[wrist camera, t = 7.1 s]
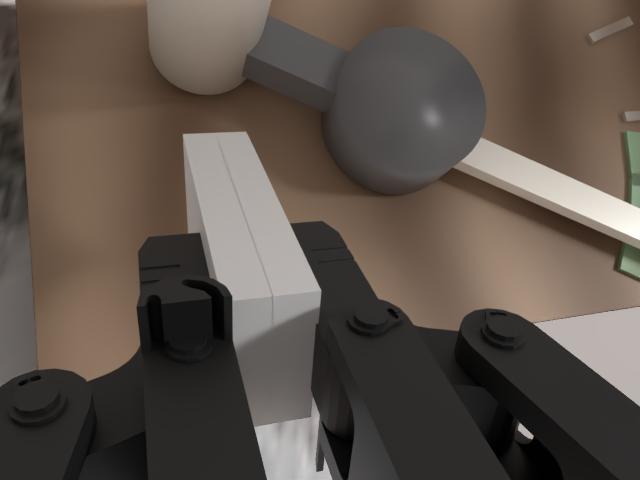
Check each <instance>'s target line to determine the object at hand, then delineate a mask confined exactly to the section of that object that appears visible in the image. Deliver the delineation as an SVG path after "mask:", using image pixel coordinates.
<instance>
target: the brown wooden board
mask: <svg viewBox="0 0 640 480" xmlns="http://www.w3.org/2000/svg"><path fill="white" fill-rule="evenodd" d="M268 15H269V16H272V17H274V18H276V19H278V20H280V21H283V22H285V23H287V24H289V25H291V26H294V27H296V28H298V29H300V30H302V31H305V32H307V33H309V34H311V35H313V36H316V37H318V38H320V39H322V40H324V41H327V42H329V43H331V44H333V45H335V46H338V47H340V48H342V49H344V50H346V51H349V52H351V51H352V49H353V48H354V47H355V46H356V45H357V44H358V43H359V42H360V41H361V40H363V39H364V38H365V37H367V36H369V35H370V34H372V33H375V32H377V31H380V30H383V29H387V28H393V27H410V28H417V29H421V30H424V31H427V32H430V33H432V34H435V35H437V36H439V37H441V38H443V39H444V40H446V41H447V42H449V43H450V44H452V45H453V46H454V47H455V48H456V49H458V50H459V51H460V52H461V53H462V54H463V55H464V56H465V57H466V59H467V60H468V61H469V62H470V64H471V65H472V66H473V68H474V70H475V71H476V73H477V75H478V77H479V79H480V81H481V84H482V87H483V90H484V94H485V99H486V109H487V112H486V122H485V127H484V130H483V133H482V136H481V138H483V139H486V140H488V141H490V142H492V143H495V144H497V145H499V146H501V147H504V148H506V149H508V150H510V151H512V152H515V153H517V154H519V155H521V156H524V157H526V158H528V159H530V160H533V161H535V162H537V163H539V164H542V165H544V166H546V167H548V168H550V169H553V170H555V171H557V172H559V173H562V174H564V175H566V176H568V177H571V178H573V179H575V180H577V181H580V182H582V183H584V184H586V185H588V186H591V187H593V188H595V189H597V190H600V191H602V192H604V193H606V194H609V195H611V196H613V197H615V198H618V199H620V200H622V201H624V202H626V203H629V204H631V205H633V206H635V207H638V208H640V0H271V4H270V8H269V12H268ZM16 17H17V33H18V50H19V66H20V83H21V99H22V116H23V132H24V149H25V165H26V182H27V198H28V215H29V231H30V248H31V265H32V281H33V298H34V314H35V331H36V347H37V364H38V370H44V369H53V368H56V369H62V370H68V371H73V372H75V373H76V374H78V375H80V376H81V377H83V378H85V379H86V381H90V380H92V379H95V378H98V377H100V376H103V375H105V374H107V373H110V372H112V371H114V370H116V369H118V368H119V367H121V366H122V365H124V364H125V363H126V362H128V361H129V360H130V359H131V358H132V357H133V356H134V354H135V353H136V352H137V350H138V348H139V346H140V335H139V327H138V318H137V309H136V306H137V303H138V299H139V296H140V282H139V263H138V251H139V250H140V248H141V247H142V245H143V244H144V242H145V241H146V239H147V238H148V237H152V236H164V235H177V234H188V223H187V205H186V186H185V168H184V149H183V134H197V133H222V132H247V134H248V136H249V138H250V140H251V143H252V145H253V147H254V149H255V151H256V153H257V155H258V157H259V160H260V162H261V164H262V166H263V168H264V170H265V172H266V174H267V177H268V179H269V181H270V183H271V185H272V187H273V189H274V191H275V194H276V196H277V198H278V200H279V202H280V204H281V206H282V208H283V210H284V213H285V215H286V217H287V219H288V221H289V223H301V222H313V221H323V222H325V223H326V224H328V225H329V226H331V227H332V228H333V229H335V230H336V231H338V232H339V233H340V235H341V237H342V238H343V240H344V242H345V243H346V245H347V249H349V250H350V252H351V254H352V255H353V257H354V261H356V262H357V264H358V265H359V267H360V269H361V270H362V272H363V274H364V275H365V277H366V279H367V281H368V282H369V284H370V286H371V287H372V289H373V291H374V292H375V294H376V296H377V297H378V299H381V300H385V301H388V302H390V303H392V304H393V305H395V306H397V307H399V308H400V309H401V310H402V311H403V312H404V313H405V314H406V315H407V316H408V317H409V319H410V320H411V322H412V323H413V325H416V326H420V327H426V328H434V329H444V330H454V331H459V328H460V324H461V322H462V320H463V318H464V316H466V315H467V314H469V313H471V312H472V311H474V310H480V309H486V308H490V309H501V310H505V311H508V312H511V313H514V314H518V315H520V316H521V317H523V318H525V319H526V320H528V321H530V322H531V323H536V322H544V321H550V320H556V319H563V318H569V317H576V316H581V315H588V314H594V313H601V312H608V311H614V310H620V309H627V308H633V307H640V249H639V248H636V247H634V246H632V245H629V244H627V243H625V242H623V241H620V240H618V239H616V238H613V237H611V236H609V235H607V234H604V233H602V232H600V231H597V230H595V229H593V228H590V227H588V226H586V225H584V224H581V223H579V222H577V221H574V220H572V219H570V218H568V217H565V216H563V215H561V214H558V213H556V212H554V211H552V210H549V209H547V208H545V207H542V206H540V205H538V204H535V203H533V202H531V201H529V200H526V199H524V198H522V197H519V196H517V195H515V194H513V193H510V192H508V191H506V190H503V189H501V188H499V187H497V186H494V185H492V184H490V183H487V182H485V181H483V180H480V179H478V178H476V177H474V176H471V175H469V174H467V173H464V172H462V171H460V170H458V169H455V168H451V169H450V170H449V171H447V172H446V173H445V174H444V175H442V176H441V177H440V178H439V179H437V180H436V181H435V182H433V183H432V184H431V185H429V186H428V187H426V188H424V189H422V190H420V191H417V192H414V193H409V194H404V195H390V194H383V193H379V192H375V191H373V190H370V189H367V188H365V187H363V186H361V185H360V184H358V183H357V182H355V181H353V180H352V179H351V178H350V177H348V176H347V175H346V174H345V173H344V172H343V171H342V170H341V169H340V168H339V167H338V165H337V164H336V163H335V161H334V160H333V158H332V157H331V155H330V153H329V151H328V149H327V146H326V144H325V141H324V137H323V134H322V126H321V115H322V111H320V110H318V109H316V108H313V107H311V106H309V105H306V104H304V103H302V102H300V101H297V100H295V99H293V98H290V97H288V96H286V95H284V94H281V93H279V92H277V91H274V90H272V89H270V88H267V87H265V86H263V85H261V84H258V83H256V82H254V81H251V80H249V79H246V80H245V81H244V82H243V83H241V84H240V85H239V86H237V87H236V88H234V89H232V90H230V91H227V92H225V93H221V94H215V95H201V94H195V93H191V92H188V91H185V90H183V89H180V88H178V87H177V86H175V85H173V84H172V83H170V82H169V81H168V80H167V79H166V78H165V77H164V76H163V75H162V74H161V73H160V72H159V70H158V69H157V68H156V66H155V64H154V62H153V60H152V57H151V54H150V50H149V37H148V19H147V1H146V0H16Z"/></svg>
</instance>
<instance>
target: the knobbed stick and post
mask: <svg viewBox="0 0 640 480" xmlns="http://www.w3.org/2000/svg"><path fill="white" fill-rule="evenodd" d="M146 1H147V19H148V37H149V50H150V54H151V57H152V60H153V62H154V64H155V66H156V68H157V69H158V70H159V72H160V73H161V74H162V75H163V76H164V77H165V78H166V79H167V80H168V81H169V82H170V83H172V84H173V85H175V86H177V87H178V88H180V89H183V90H185V91H188V92H191V93H195V94H201V95H215V94H221V93H225V92H227V91H230V90H232V89H234V88H236V87H237V86H239V85H240V84H241V83H243V82H244V81H245V80H246V79H249V80H251V81H254V82H256V83H258V84H261V85H263V86H265V87H267V88H270V89H272V90H274V91H277V92H279V93H281V94H284V95H286V96H288V97H290V98H293V99H295V100H297V101H300V102H302V103H304V104H306V105H309V106H311V107H313V108H316V109H318V110H320V111H322V115H321V126H322V134H323V137H324V141H325V144H326V146H327V149H328V151H329V153H330V155H331V157H332V158H333V160H334V161H335V163H336V164H337V165H338V167H339V168H340V169H341V170H342V171H343V172H344V173H345V174H346V175H347V176H348V177H350V178H351V179H352V180H353V181H355V182H357V183H358V184H360V185H361V186H363V187H365V188H367V189H370V190H373V191H375V192H379V193H383V194H390V195H404V194H409V193H414V192H417V191H420V190H422V189H424V188H426V187H428V186H429V185H431V184H432V183H433V182H435V181H436V180H437V179H439V178H440V177H441V176H442V175H444V174H445V173H446V172H447V171H449V170H450V169H451V168H455V169H458V170H460V171H462V172H464V173H467V174H469V175H471V176H474V177H476V178H478V179H480V180H483V181H485V182H487V183H490V184H492V185H494V186H497V187H499V188H501V189H503V190H506V191H508V192H510V193H513V194H515V195H517V196H519V197H522V198H524V199H526V200H529V201H531V202H533V203H535V204H538V205H540V206H542V207H545V208H547V209H549V210H552V211H554V212H556V213H558V214H561V215H563V216H565V217H568V218H570V219H572V220H574V221H577V222H579V223H581V224H584V225H586V226H588V227H590V228H593V229H595V230H597V231H600V232H602V233H604V234H607V235H609V236H611V237H613V238H616V239H618V240H620V241H623V242H625V243H627V244H629V245H632V246H634V247H636V248H639V249H640V208H638V207H635V206H633V205H631V204H629V203H626V202H624V201H622V200H620V199H618V198H615V197H613V196H611V195H609V194H606V193H604V192H602V191H600V190H597V189H595V188H593V187H591V186H588V185H586V184H584V183H582V182H580V181H577V180H575V179H573V178H571V177H568V176H566V175H564V174H562V173H559V172H557V171H555V170H553V169H550V168H548V167H546V166H544V165H542V164H539V163H537V162H535V161H533V160H530V159H528V158H526V157H524V156H521V155H519V154H517V153H515V152H512V151H510V150H508V149H506V148H504V147H501V146H499V145H497V144H495V143H492V142H490V141H488V140H486V139H483V138H481V136H482V133H483V130H484V127H485V122H486V112H487V109H486V99H485V94H484V90H483V87H482V84H481V81H480V79H479V77H478V75H477V73H476V71H475V70H474V68H473V66H472V65H471V64H470V62H469V61H468V60H467V59H466V57H465V56H464V55H463V54H462V53H461V52H460V51H459V50H458V49H456V48H455V47H454V46H453V45H452V44H450V43H449V42H447V41H446V40H444V39H443V38H441V37H439V36H437V35H435V34H432V33H430V32H427V31H424V30H421V29H417V28H410V27H393V28H387V29H383V30H380V31H377V32H375V33H372V34H370V35H369V36H367V37H365V38H364V39H363V40H361V41H360V42H359V43H358V44H357V45H356V46H355V47H354V48H353V49H352V51H351V52H349V51H346V50H344V49H342V48H340V47H338V46H335V45H333V44H331V43H329V42H327V41H324V40H322V39H320V38H318V37H316V36H313V35H311V34H309V33H307V32H305V31H302V30H300V29H298V28H296V27H294V26H291V25H289V24H287V23H285V22H283V21H280V20H278V19H276V18H274V17H272V16H269V15H268V12H269V8H270V4H271V0H146Z"/></svg>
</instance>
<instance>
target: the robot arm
mask: <svg viewBox="0 0 640 480" xmlns="http://www.w3.org/2000/svg"><path fill="white" fill-rule="evenodd" d="M183 149H184V168H185V186H186V205H187V223H188V234H177V235H164V236H152V237H148V238H147V239H146V241H145V242H144V244H143V245H142V247H141V248H140V250H139V251H138V263H139V282H140V296H139V299H138V303H137V306H136V309H137V318H138V327H139V335H140V346H139V348H138V350H137V352H136V353H135V354H134V356H133V357H132V358H131V359H130V360H129V361H128V362H126V363H125V364H124V365H122V366H121V367H119V368H118V369H116V370H114V371H112V372H110V373H107V374H105V375H103V376H100V377H98V378H95V379H92V380H90V381H86V379H85V378H83V377H81V376H80V375H78V374H76V373H75V372H73V371H68V370H62V369H56V368H53V369H44V370H35V371H32V372H29V373H26V374H23V375H21V376H18V377H15V378H13V379H12V380H10V381H9V382H7V383H6V384H4V385H2V386H1V387H0V480H267V478H266V474H265V470H264V466H263V462H262V458H261V454H260V450H259V445H258V441H257V437H256V433H255V429H254V426H260V425H266V424H272V423H278V422H284V421H290V420H295V419H301V418H307V417H311V409H312V397H314V400H315V402H316V405H317V408H318V411H319V413H320V420H319V430H318V441H317V451H316V470H317V472H318V471H323V465H324V456H325V459H326V462H327V465H328V468H329V471H330V474H331V476H332V479H333V480H640V407H639V406H638V405H637V404H636V403H635V402H633V401H632V400H631V399H629V398H628V397H627V396H626V395H624V394H623V393H622V392H620V391H619V390H618V389H617V388H615V387H614V386H613V385H611V384H610V383H609V382H607V381H606V380H605V379H603V378H602V377H601V376H600V375H598V374H597V373H596V372H594V371H593V370H592V369H591V368H589V367H588V366H587V365H586V364H584V363H583V362H582V361H580V360H579V359H578V358H577V357H575V356H574V355H573V354H571V353H570V352H569V351H567V350H566V349H565V348H564V347H562V346H561V345H560V344H558V343H557V342H556V341H555V340H553V339H552V338H551V337H550V336H548V335H547V334H546V333H544V332H543V331H542V330H541V329H539V328H538V327H537V326H535V325H534V324H533V323H531V322H530V321H528V320H526V319H525V318H523V317H521V316H520V315H518V314H514V313H511V312H508V311H505V310H501V309H490V308H486V309H480V310H474V311H472V312H471V313H469V314H467V315H466V316H464V318H463V320H462V322H461V324H460V328H459V331H454V330H444V329H434V328H426V327H420V326H416V325H413V323H412V322H411V320H410V319H409V317H408V316H407V315H406V314H405V313H404V312H403V311H402V310H401V309H400V308H399V307H397V306H395V305H393V304H392V303H390V302H388V301H385V300H381V299H378V297H377V296H376V294H375V292H374V291H373V289H372V287H371V286H370V284H369V282H368V281H367V279H366V277H365V275H364V274H363V272H362V270H361V269H360V267H359V265H358V264H357V262H356V261H354V257H353V255H352V254H351V252H350V250H349V249H347V245H346V243H345V242H344V240H343V238H342V237H341V235H340V233H339V232H338V231H336V230H335V229H333V228H332V227H331V226H329V225H328V224H326V223H325V222H323V221H313V222H301V223H289V221H288V219H287V217H286V215H285V213H284V210H283V208H282V206H281V204H280V202H279V200H278V198H277V196H276V194H275V191H274V189H273V187H272V185H271V183H270V181H269V179H268V177H267V174H266V172H265V170H264V168H263V166H262V164H261V162H260V160H259V157H258V155H257V153H256V151H255V149H254V147H253V145H252V143H251V140H250V138H249V136H248V134H247V132H222V133H197V134H183ZM519 423H521V424H522V425H523V426H524V427H525V428H526V429H527V430H528V431H529V432H530V433H531V434H533V436H534V437H533V439H529V438H527V437H525V436H524V435H523V434H522V433H521V432H519V431H518V430H517V429H518V426H519Z"/></svg>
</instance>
